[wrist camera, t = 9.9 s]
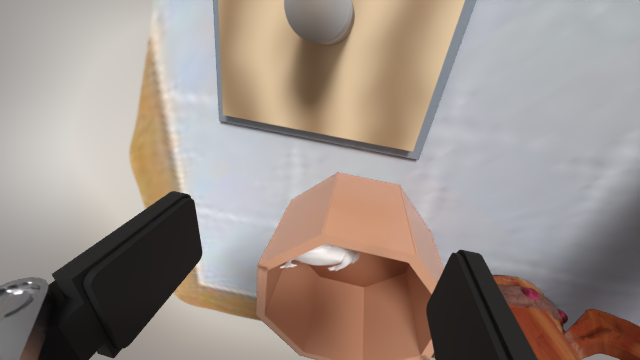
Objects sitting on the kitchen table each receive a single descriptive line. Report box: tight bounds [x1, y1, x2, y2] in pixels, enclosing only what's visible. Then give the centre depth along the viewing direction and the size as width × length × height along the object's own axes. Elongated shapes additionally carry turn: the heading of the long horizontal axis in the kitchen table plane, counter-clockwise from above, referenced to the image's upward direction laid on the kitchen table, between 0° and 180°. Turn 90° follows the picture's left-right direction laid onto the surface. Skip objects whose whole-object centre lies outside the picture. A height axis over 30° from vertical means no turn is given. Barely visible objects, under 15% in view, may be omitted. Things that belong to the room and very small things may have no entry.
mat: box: [213, 0, 476, 160], centre depth 20 cm, size 20×20×1 cm
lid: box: [218, 0, 465, 152], centre depth 16 cm, size 18×18×7 cm
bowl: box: [256, 172, 444, 360], centre depth 25 cm, size 16×16×10 cm
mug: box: [493, 275, 640, 360], centre depth 22 cm, size 15×8×15 cm, turn 114°
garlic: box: [280, 244, 359, 271], centre depth 25 cm, size 8×7×4 cm
